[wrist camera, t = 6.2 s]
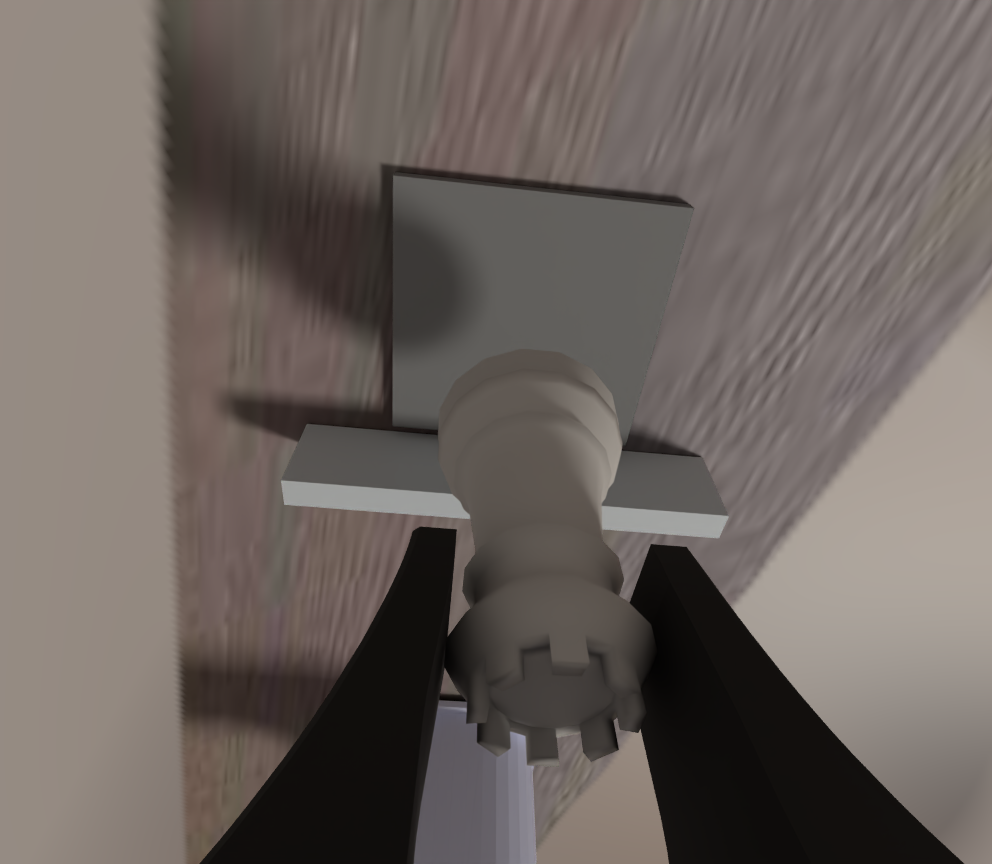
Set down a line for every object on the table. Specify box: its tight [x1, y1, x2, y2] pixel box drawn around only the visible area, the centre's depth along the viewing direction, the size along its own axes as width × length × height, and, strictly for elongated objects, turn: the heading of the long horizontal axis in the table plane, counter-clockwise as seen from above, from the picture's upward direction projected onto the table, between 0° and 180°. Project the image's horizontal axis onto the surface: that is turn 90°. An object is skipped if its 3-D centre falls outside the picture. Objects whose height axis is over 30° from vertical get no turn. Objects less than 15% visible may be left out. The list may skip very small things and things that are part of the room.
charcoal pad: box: [393, 172, 694, 446], centre depth 18 cm, size 8×8×1 cm
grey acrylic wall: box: [281, 424, 729, 538], centre depth 20 cm, size 1×14×3 cm, turn 84°
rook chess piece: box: [438, 349, 658, 767], centre depth 12 cm, size 4×4×8 cm
